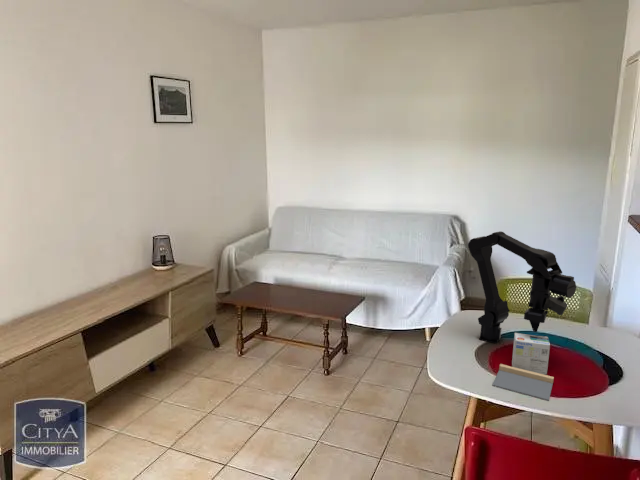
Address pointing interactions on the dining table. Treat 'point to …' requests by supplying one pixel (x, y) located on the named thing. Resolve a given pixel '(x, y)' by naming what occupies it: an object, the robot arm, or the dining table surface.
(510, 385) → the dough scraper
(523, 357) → the light bulb box
